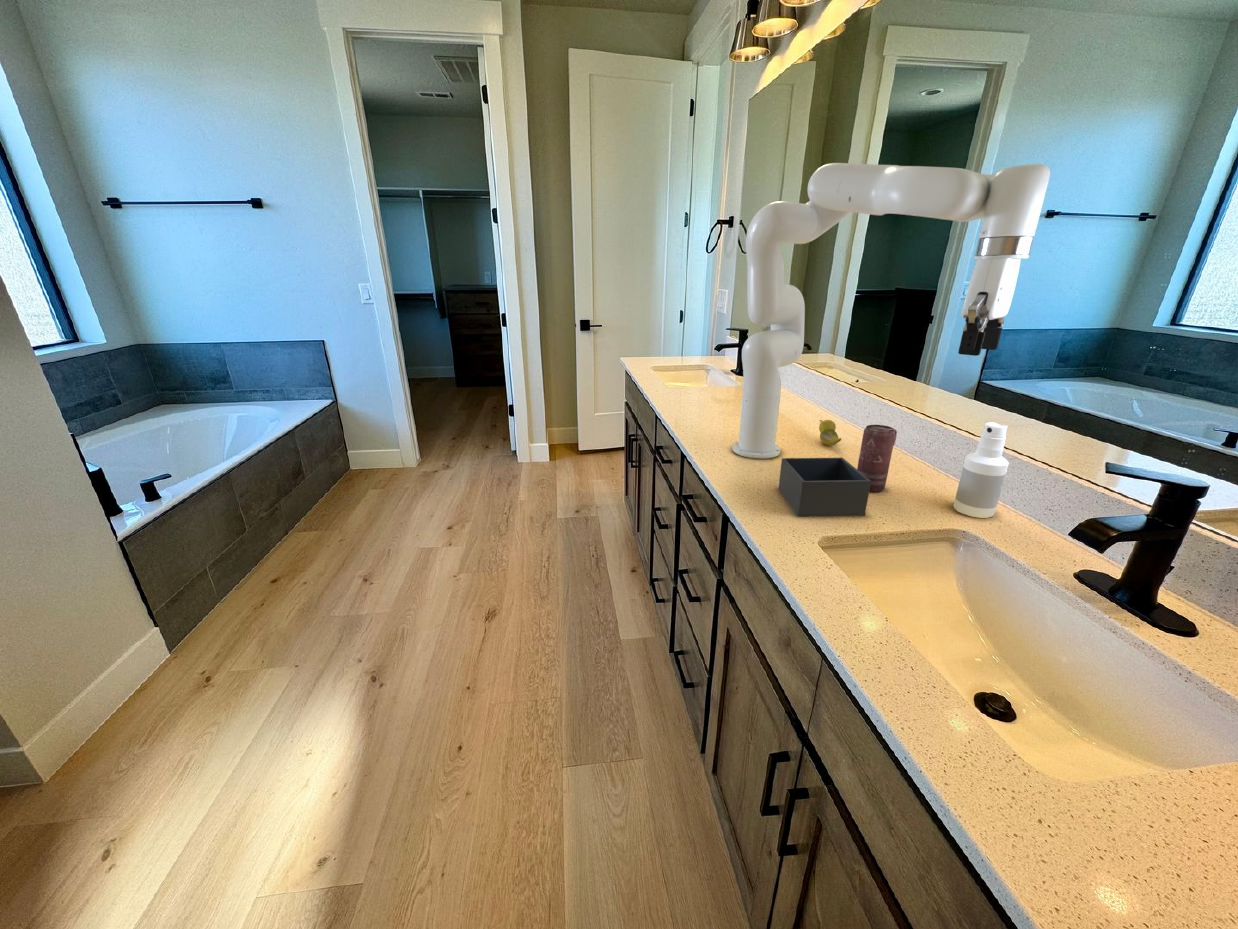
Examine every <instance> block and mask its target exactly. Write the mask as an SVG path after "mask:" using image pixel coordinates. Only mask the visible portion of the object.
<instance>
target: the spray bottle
mask: <svg viewBox="0 0 1238 929" xmlns="http://www.w3.org/2000/svg"><path fill="white" fill-rule="evenodd" d="M1008 428H1009V426H1008V425H1002V424H999V423H997V422H994V421H991V422H990V421H989V422H985V424H984V428H983V431H982V433H981V434H980V437H979V441H978V444H977V446H976V450H975V451H974V452H971V453H969V454H968V453H967V455H966V456H965V458H964V462H963V466H962V470H961V474H960V477H959V480H958V486H957V490H956V493H955V497H954V501H953V506H952V507H953V508H954V510H955V511H956V512H959V513H960V514H962V515H966V516H967V517H968V516H969V517H972V518H979V519H989V518H992V517H994V515H995V513H996V510H997V506H998V503H999V500H1000V495H1001V492H1002V489H1003V486H1004V482H1005V479H1006V476H1007V472H1008V469H1009V464H1010V462H1009V460H1007V459H1006V458H1005V457H1004V456H1003V452H1004V449H1005V443H1006V440H1007V437H1006V436H1007V430H1008Z"/></svg>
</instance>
